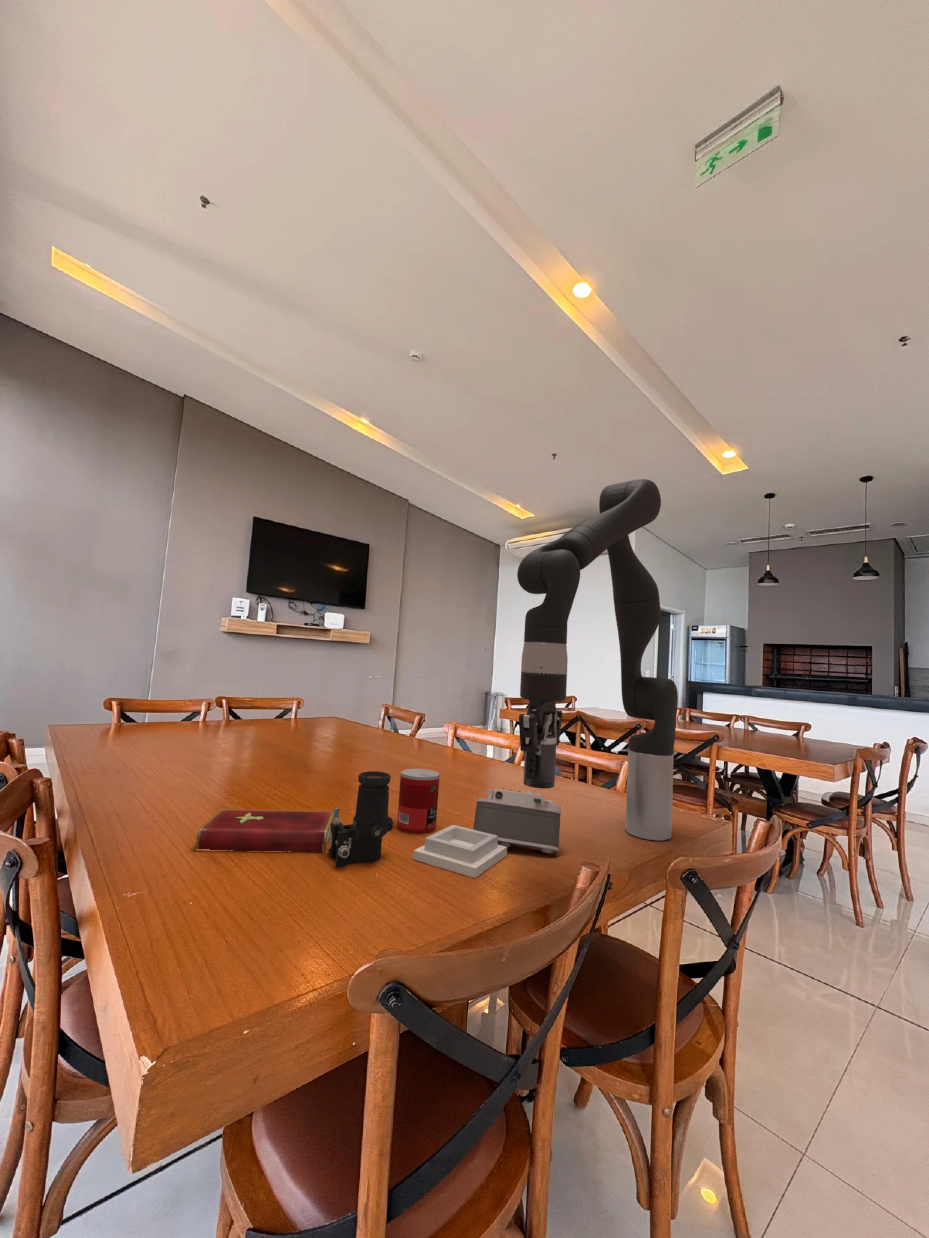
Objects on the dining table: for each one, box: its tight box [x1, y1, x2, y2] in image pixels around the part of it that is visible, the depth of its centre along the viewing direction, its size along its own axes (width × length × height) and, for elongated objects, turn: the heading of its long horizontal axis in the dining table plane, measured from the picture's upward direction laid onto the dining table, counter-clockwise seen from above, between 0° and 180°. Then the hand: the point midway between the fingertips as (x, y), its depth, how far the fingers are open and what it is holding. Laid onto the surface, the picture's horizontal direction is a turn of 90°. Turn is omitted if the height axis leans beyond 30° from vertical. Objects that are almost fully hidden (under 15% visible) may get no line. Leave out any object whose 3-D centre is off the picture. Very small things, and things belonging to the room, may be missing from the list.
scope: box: [327, 770, 394, 868], centre depth 86 cm, size 8×14×10 cm
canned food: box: [396, 768, 440, 835], centre depth 104 cm, size 8×8×11 cm
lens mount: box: [412, 824, 508, 879], centre depth 89 cm, size 12×12×4 cm
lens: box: [523, 734, 557, 790], centre depth 83 cm, size 5×5×8 cm
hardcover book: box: [195, 808, 334, 854], centre depth 92 cm, size 12×21×4 cm, turn 98°
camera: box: [472, 788, 562, 854], centre depth 98 cm, size 9×16×10 cm, turn 84°
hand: (539, 775), depth 83 cm, fingers closed on lens, 5 cm apart
